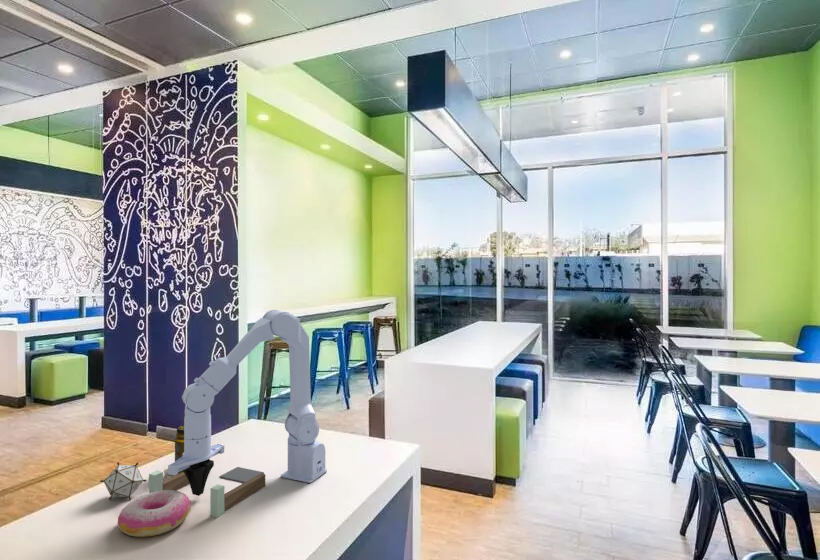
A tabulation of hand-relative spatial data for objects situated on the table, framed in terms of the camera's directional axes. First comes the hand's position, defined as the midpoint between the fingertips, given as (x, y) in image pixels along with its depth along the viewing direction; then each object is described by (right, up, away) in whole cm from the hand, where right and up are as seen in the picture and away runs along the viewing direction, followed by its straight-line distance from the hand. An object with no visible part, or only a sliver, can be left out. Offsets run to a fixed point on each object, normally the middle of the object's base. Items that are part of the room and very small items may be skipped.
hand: (197, 493), depth 108 cm
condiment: (-11, -2, +15) cm, 19 cm away
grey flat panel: (+6, -1, +13) cm, 14 cm away
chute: (+2, -1, +4) cm, 5 cm away
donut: (-4, -2, -10) cm, 11 cm away
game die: (-18, -2, +1) cm, 18 cm away
